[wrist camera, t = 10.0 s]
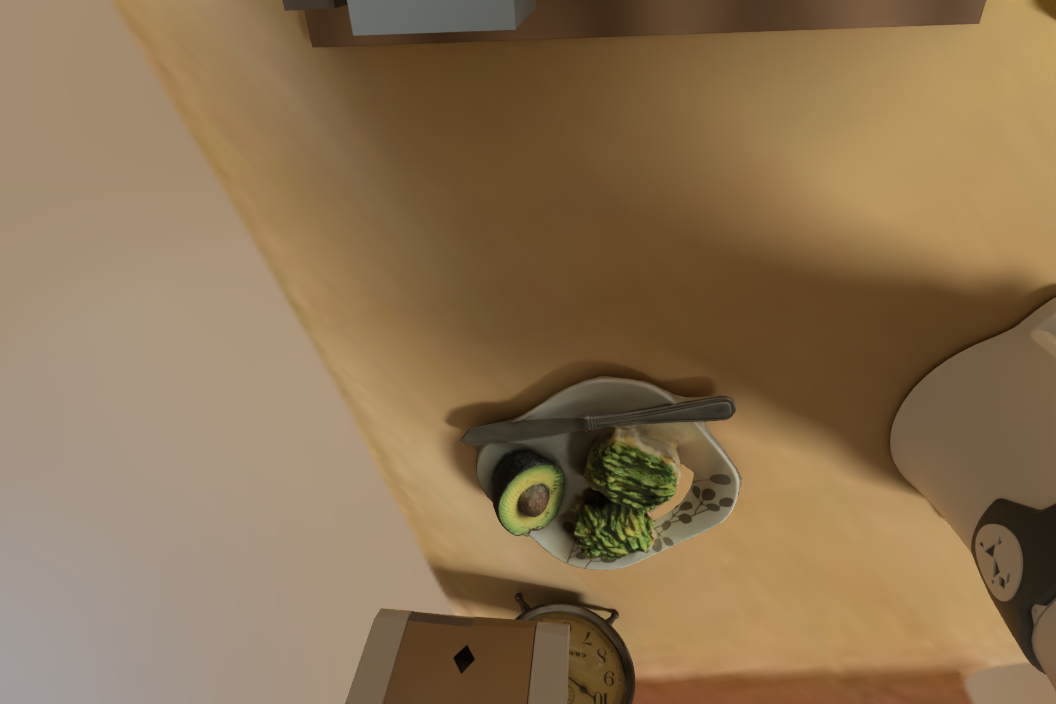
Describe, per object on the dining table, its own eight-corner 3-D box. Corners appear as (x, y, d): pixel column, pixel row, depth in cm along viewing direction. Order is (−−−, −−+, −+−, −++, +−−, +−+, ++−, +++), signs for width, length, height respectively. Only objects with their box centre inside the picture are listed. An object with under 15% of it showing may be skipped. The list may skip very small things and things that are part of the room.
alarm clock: (634, 603, 55) (640, 823, 42) (620, 638, 58) (621, 854, 45) (509, 578, 55) (474, 789, 42) (501, 615, 58) (466, 822, 45)
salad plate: (661, 298, 39) (665, 338, 35) (802, 476, 46) (819, 527, 42) (437, 435, 47) (421, 479, 44) (584, 569, 54) (581, 619, 50)
